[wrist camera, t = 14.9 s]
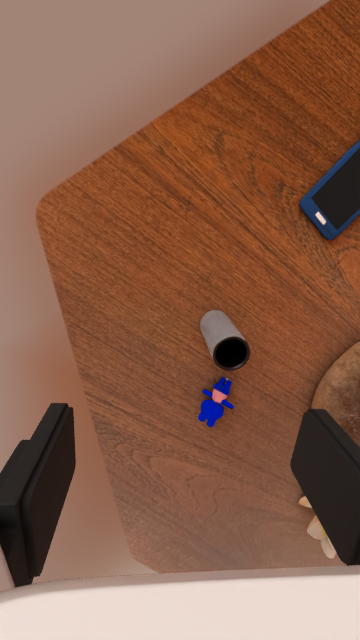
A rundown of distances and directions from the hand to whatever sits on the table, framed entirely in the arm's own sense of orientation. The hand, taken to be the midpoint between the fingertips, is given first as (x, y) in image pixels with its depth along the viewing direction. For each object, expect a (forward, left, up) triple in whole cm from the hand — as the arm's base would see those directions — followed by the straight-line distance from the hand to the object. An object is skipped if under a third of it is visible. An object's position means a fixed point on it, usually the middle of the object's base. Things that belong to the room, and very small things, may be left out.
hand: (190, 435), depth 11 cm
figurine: (+9, -18, -31) cm, 37 cm away
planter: (+8, -6, -31) cm, 32 cm away
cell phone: (+24, +15, -30) cm, 41 cm away
